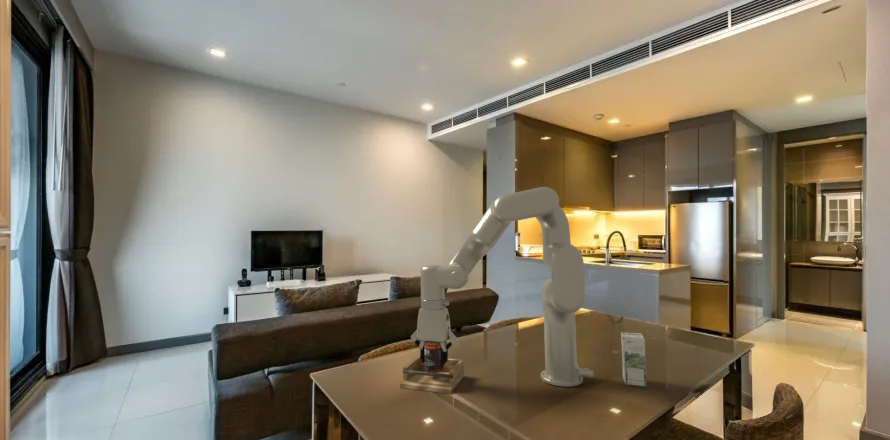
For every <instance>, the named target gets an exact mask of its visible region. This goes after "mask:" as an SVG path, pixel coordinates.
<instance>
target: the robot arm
mask: <svg viewBox="0 0 890 440" xmlns="http://www.w3.org/2000/svg"><path fill="white" fill-rule="evenodd" d="M559 203H560V197H559V195H558V193H557V192H556V190H554V189H553V188H551V187H547V186H542V187H541V186H540V187H536V188H530V189H526V190H521V191H517V192H511V193H506V194H501V195H500V196H498V197H497V198H496V199H494V201H493V202H492V203H491V204H490V206H489V207H488V209H487V210H486V211H485V212H484V214H483V216H481V218H480V220H479V221H478V222H477V223H476V225H475V226H474V228H473V229H472V230H471V232H470V233H469V235H468V237H467V238H466V240H465V242H464V243H463V244H462V245H461V247H460V249H459V250H458V251H457V253H456V254H455V256H454V257H453V258H452V260H451V261H450V262H449V264H448V266H447V265H446V266H442V265H439V264H438V265H436V264H432V265H431V264H430V265H429V264H428V265H423V266H422V267H421V268H420V304H421V305H420V308H419V310H418V315H417V325H416V329H415V331H414V332H413V333H412V334H411V335H410V339H411V340H412V341H413V342H414V343H415V345H416V346H417V347H418V349H419V351H420V352H419V354H420V355H419V356H420V358H421V359H422V363H424V362H425V353H424V343H425V341H434V342H440V344H441V347H442V352H441V364H442V365H444V364H445V363H446V362H447V361H448V358H449V353H448V352H449V349H450V348H451V347H452V346H453V345H454V344H455V343H456V342H458V337H457V336H456V335H455V334H454V332H452V328H451V321H450V320H451V319H450V313H449V310H448V308H447V307H448V306H449V305H450V302H449V301H448V300H446V298H445V292H446V291H445V289H450V290H451V289H452V290H459V289H462V288H465V286H466V285H467V283H468V282H469V278H470V277H469V276H470V274H471V273H472V270H473V269H474V268H475V267H476V266H477V264H478V263H479V262H480V261H481V259H482V258H484V256H486V255H487V254H488V253H490V252H491V250H493V249H494V247H495V246H496V244H497V243H498V242H499V240H500V239H501V237H502V236H503V234H504V233H505V232H506V230H507V229H508V227H509V226H510V225H511V223H512V222H516V221H522V220H527V219H532V218H536V220H537V221H538V223H539V225H540V228H541V235H542V237H541V238H542V261H543V262H542V263H543V265H544V267H545V268H546V269H547V270H548V271H550V275H551V277H550V278H548V279H547V280H546V281H545V282H544V283H543V284H542V287H541V296H540V297H541V304H542V312H543V313H542V314H543V326H544V327H543V336H544V365H545V366H544V367H545V369H544V370H542V371H541V372H540V379H541V380H542V381H544V382H545V383H547V384H550V385H552V386H557V387H563V388H564V387H565V388H567V387H568V388H569V387H576V386H579V385H581V384H583V382H584V377H587V378H594V370H589V368H586V367H584V368H582V367H581V366H579V363H578V356H577V355H578V354H577V332H576V331H577V325H576V324H577V323H576V322H577V321H576V314H575V313H577V312H578V311H579V310H580V309H581V308H582V307H583V305H584V303H585V300H586V299H585V297H586V286H585V285H586V284H585V283H586V282H585V281H586V279H585V262H584V258H583V255H582V253H581V251H580V250H579V249H578V248H577V247H576V246H575V245H573V244H572V243H571V234H570V233H571V232H570V230H571V229H570V223H569V219H568V217H567V214H566V213H565V211H564V210H563V208H562V207H561V206H560V205H559ZM448 339H450V341H449V342H448Z"/></svg>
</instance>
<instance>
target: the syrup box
mask: <svg viewBox="0 0 890 440" xmlns="http://www.w3.org/2000/svg"><path fill="white" fill-rule="evenodd" d="M620 336H621V338H620V340H621V361H622V363H621V364H622V365H621V366H622V379H623V382H624V384H625V386H633V387H643V388H647V369H646V368H647V366H646V363H647V362H646V339H645V338H644V337H645V336H644V335H643V334H642V333H638V332H622V331H621V333H620Z"/></svg>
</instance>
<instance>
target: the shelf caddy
mask: <svg viewBox="0 0 890 440" xmlns="http://www.w3.org/2000/svg"><path fill="white" fill-rule="evenodd" d="M402 369H403V370H402V373H403V380H402V381H401V382H400V383H399V387H400V389H401V388H402V389H410V390H415V391H416V390H417V391H422V392H423V391H426V392H433V393H441V394H446V395H447V394H448V395H451V394H452V393H453V392H454V390H455V389H456V388H457V386H458V385H459V383H460V382H461V381H462V380H463V378H464V376H465V373H464V372H465V366H464V359H458V358H457V359H456V358H449V357H448V361H447V362H446V363H445V364H444V369H443V370H442V371H441V372H438V373H432V372H427V371H426V370H425V362H424V363H422V359H421V358H420V355H417V356H415V358H413V359H412V360H411V361H409V362H408V363H407V364H405V365H404V366H403V368H402Z"/></svg>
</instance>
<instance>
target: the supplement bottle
mask: <svg viewBox="0 0 890 440" xmlns="http://www.w3.org/2000/svg"><path fill="white" fill-rule="evenodd" d="M441 352H442V347H441V344H440V342H434V341H425V343H424V353H425V370H426V371H427V372H432V373H438V372H441V371H442V370H443V369H444V365H442V364H441Z"/></svg>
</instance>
